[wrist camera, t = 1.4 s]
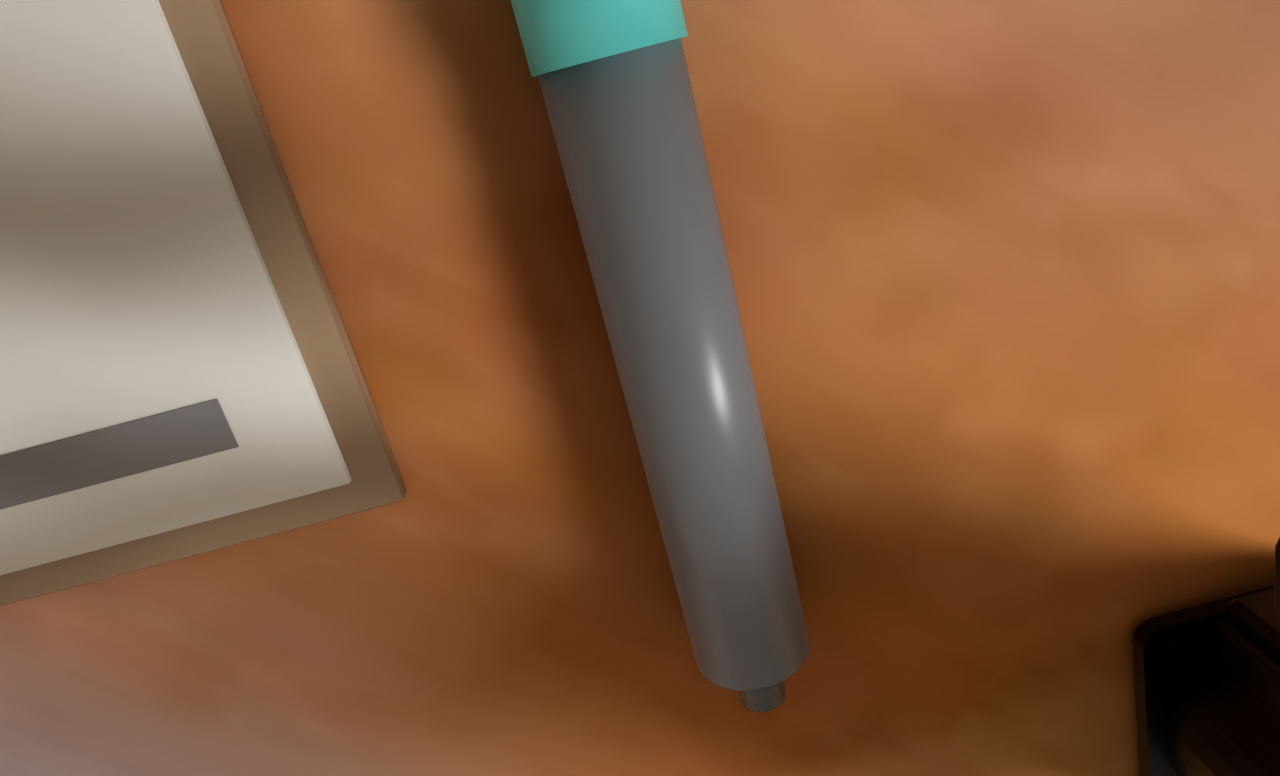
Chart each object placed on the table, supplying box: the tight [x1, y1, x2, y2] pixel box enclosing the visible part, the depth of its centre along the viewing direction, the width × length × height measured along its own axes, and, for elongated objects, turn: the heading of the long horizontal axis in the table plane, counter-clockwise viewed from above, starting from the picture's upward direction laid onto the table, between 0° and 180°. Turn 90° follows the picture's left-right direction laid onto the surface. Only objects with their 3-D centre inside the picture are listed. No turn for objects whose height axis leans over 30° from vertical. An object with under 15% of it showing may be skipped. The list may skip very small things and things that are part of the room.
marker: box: [511, 0, 810, 712], centre depth 16 cm, size 16×3×3 cm, turn 14°
